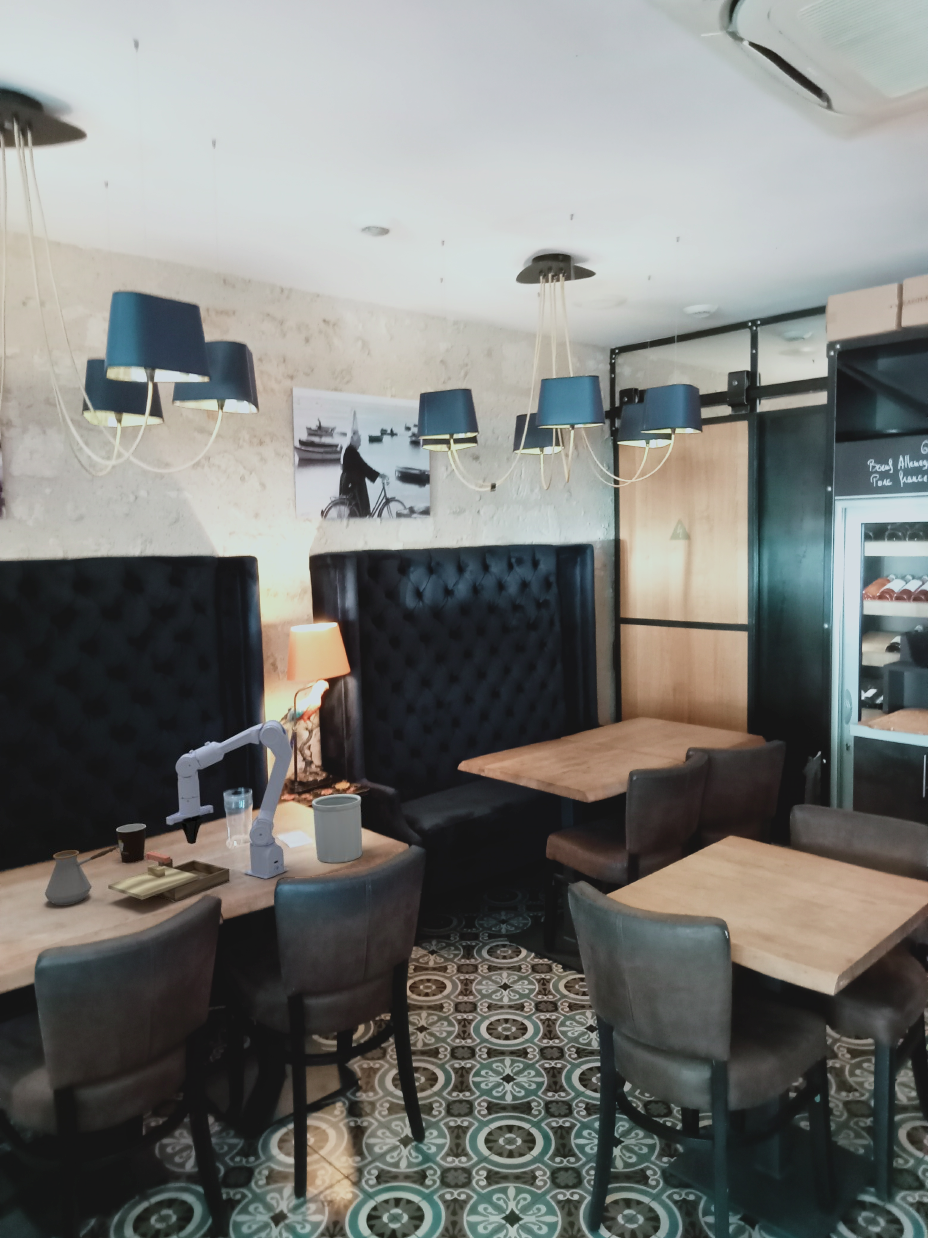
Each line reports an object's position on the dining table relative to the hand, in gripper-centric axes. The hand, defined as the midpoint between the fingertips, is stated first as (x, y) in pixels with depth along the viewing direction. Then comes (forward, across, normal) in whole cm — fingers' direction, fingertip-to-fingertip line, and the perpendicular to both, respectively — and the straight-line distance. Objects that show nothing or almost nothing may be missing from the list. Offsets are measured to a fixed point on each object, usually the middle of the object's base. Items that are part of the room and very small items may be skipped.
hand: (191, 843), depth 249 cm
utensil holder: (+11, -36, +23) cm, 44 cm away
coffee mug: (+11, -2, -33) cm, 35 cm away
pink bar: (+5, +5, -9) cm, 12 cm away
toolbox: (+10, +5, +3) cm, 12 cm away
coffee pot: (+11, +26, -12) cm, 31 cm away
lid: (+7, +15, +3) cm, 17 cm away
